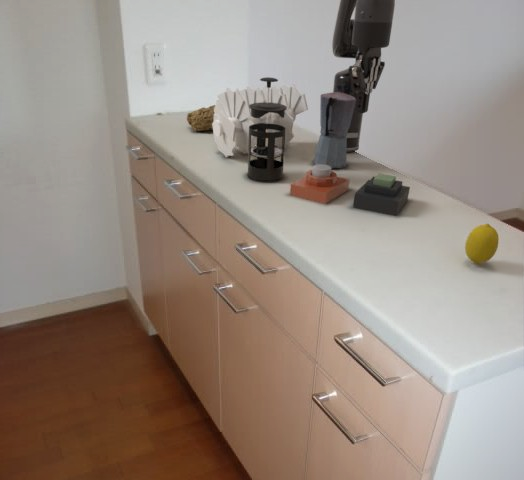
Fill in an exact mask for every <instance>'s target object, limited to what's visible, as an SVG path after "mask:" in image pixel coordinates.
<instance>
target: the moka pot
mask: <svg viewBox="0 0 524 480" xmlns="http://www.w3.org/2000/svg"><path fill="white" fill-rule="evenodd" d="M342 88H343V86H342V85H337V92H333V91H332V92H325V93H321V94H320V106H319V107H320V114H319V115H320V120H319V122H320V131H319V132H320V134H319V137H318V142H317V145H316V150H315V152H314V157H313V164H314V165H317V164H324V165H328V166H330V167H331V169H343V168H346V166H347V152H346V148H347V138H346V136H347V132H348V129H349V127H350V123H351V119H352V115H353V111H354V107H355V103H356V99H355V97H353V96H351V95H348V94H345V93H342V92H341V91H342Z"/></svg>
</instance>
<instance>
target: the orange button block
mask: <svg viewBox="0 0 524 480" xmlns="http://www.w3.org/2000/svg"><path fill="white" fill-rule="evenodd" d="M349 185H350V179H349V178H345V177H341V176H338V175H337V173H336V172H334V171H333V170H331V176H330V177H326V178H321V177H315V176H313V175H312V169H309V170H307V171H306V172H305V176H304V177H302V178H300V179H298V180H296V181H294V182H292V183H290V190H289V195H290V196H292V197H297V198H300V199H303V200H304V199H305V200H308V201H310V202H311V201H312V202H316V203H319V204H324V205H326V204H328V203H330V202H332V201H333V200H334V199H336V198H338V197H339V196H341V195H343V194H345V193H346V192H348V191H349Z"/></svg>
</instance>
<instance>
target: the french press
mask: <svg viewBox="0 0 524 480" xmlns="http://www.w3.org/2000/svg"><path fill="white" fill-rule="evenodd" d="M259 81H261V82H266V87H267V88H268V101H267V103H254V104H250V105H249V108H250V109H251V116H252V117H254V118H260V117H262V116H263V115H265V114H267V123H257V124H253V125H250V126H249V145H248V153H247V174H246V178H247V179H248V180H250V181H252V182H255V183H256V182H257V183H264V184H270V183H272V184H273V183H278V182H281V181H283V180H284V178H285V177H284V160H285V148H284V146H285V127H283V126H281V125H277V124H268V113H269V112H271V113H278V114H279V115H280V116H281V117H282V118H284V113H285V110H286V109H287V107H286V106H285V105H282V104H277V103H269V88H271V89H272V87H271V86H272V83H274V82H275V83H277V82H279V79H278V78H275V77H268V76H267V77H262V78H260V79H259ZM268 129H273V130H278V131H280V132H268ZM255 130H257V131H255ZM251 135H252V136H255V137H257V146H256V147H253V148H252V149H251ZM279 137H282V150H281V149H280V148H279V147H276V144H275V138H279ZM267 139H268V146H267ZM265 142H266V146H265ZM251 156H253V157H255V159H251ZM276 158H277V159H278V158H280V160H277V159H276Z"/></svg>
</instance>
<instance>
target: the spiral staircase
mask: <svg viewBox="0 0 524 480" xmlns="http://www.w3.org/2000/svg"><path fill="white" fill-rule="evenodd" d="M217 98H218V99H217V100H216V102H215V104H214V105H215V108H214V113H215V114H214V122H213V123H212V127H213V129H212V132H213V138H214V141H215V143H216V146H217V148H218V150H219V152H221V154H223V156H225V158H227V159H228V158H229V156H232V157H233V156H235V148H236V147H237V148H238V149H239V150H240V151H241V152H242V153H243V154H244V155H246V154H248V145H249V126H250V125H253V124H257V123H267V114H265V115H263V116H262V117H260V118H254V117H252V116H251V109H250V108H249V105H250V104H254V103H267V101H268V88H267V86H265V85H263V86H262V89H261V90H260V87H258V88H256V89H255V88H253V86H250V85H249V84H248V85H246V88H244V89H242V90H239V88H236V89H235V91H234V90H233V89H231V88H229V87H226V88H225V91H223V92H221V93H220V94H218V95H217ZM269 103H277V104H282V105H285V106H286V107H287V109H286V110H285V113H284V118H282V117H281V116H280V115H279V114H278V113H271V112H269V113H268V124H277V125H281V126H283V127H285V146H284V149H286V148H287V149H288V148H291V143H290V142H291V141H292V140H293V138H294V137H295V134H294V132H293V127H294V122H295V121H296V119H297V115H299V114H302V113H304V112H306V111H308V110H309V107H308V102H307V98H306V94H305V93H302V94H301V92H300V91H299V90H298V87H297V86H296V84H292V85H291V86H290V85H288V84H286V83H282V84H281V87H279V88H277V87H276V85H272V87H271V88H269ZM255 131H257V130H255ZM268 132H280V131H278V130H273V129H268ZM254 146H256V147H257V137H255V136H252V135H251V149H252V148H254ZM265 146H266V142H265ZM267 146H268V139H267ZM275 146H276V147H277V148H278V149H281V150H282V137H279V138H275Z"/></svg>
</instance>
